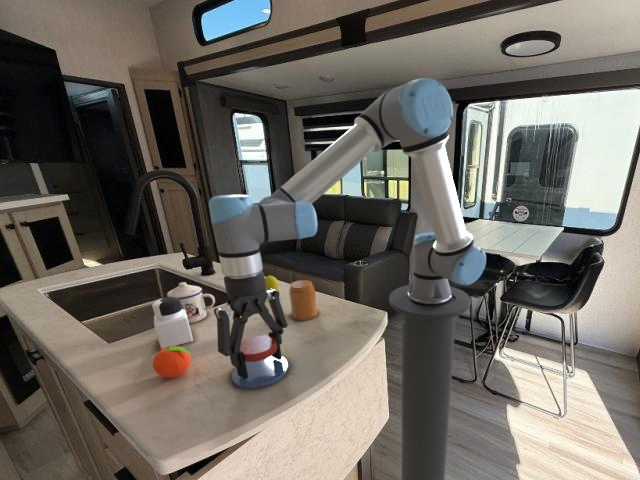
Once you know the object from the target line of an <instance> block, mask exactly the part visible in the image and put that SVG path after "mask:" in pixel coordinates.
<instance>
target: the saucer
mask: <svg viewBox="0 0 640 480" xmlns="http://www.w3.org/2000/svg"><path fill="white" fill-rule="evenodd" d="M245 363H246V368H247V373H248V378H247V379H246V380H245V379H243V378H242V377H240V376H238V372H237V368H236V367H234V369H233V370H232V375H231V379H232V382H233V384H234V385H235V386H237V387H239V388H242V389H248V390H249V389H253V390H254V389H260V388H264V387H267V386H270V385H272V384H275V383H277V382H278V381H280V380H281V379H282V378H284V377H285V375H286V374H287V373H288V371H289V361H288V360H287V358H286V357H284V356H282V359H280V360H278V359H276V358H274V357H272V355H271V356H270V357H268V358H266V359H263V360H260V361H255V362H246V361H245Z"/></svg>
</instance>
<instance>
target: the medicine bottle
mask: <svg viewBox="0 0 640 480" xmlns="http://www.w3.org/2000/svg"><path fill="white" fill-rule="evenodd" d="M151 307H152V311H153V314H154V316H153V327H154V331H155V333H156V338H157V340H158V344H159V348H160V350H162V349H164V348H166V347H169V346H180V345H184V344H187V343H191V342H193V341H194V337H193V334H192V330H191V327H190V323H189V322H188V318H187V314H186V310H185V309H182V305H181V302H180V299H179V298H176V297H167V296H166V297H162V298H159V299H157V300H155V301H153V302H152V304H151Z"/></svg>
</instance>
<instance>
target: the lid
mask: <svg viewBox="0 0 640 480" xmlns="http://www.w3.org/2000/svg"><path fill="white" fill-rule="evenodd" d="M276 350H277V343H276V340H275V338H274V337H272V336H269V335H268V334H262V335H255V336H251V337H248V338H245V339H244V340H242V341H241V346H240V351H242V352H243V353H244V358H245V361H246V362H255V361H260V360H263V359H266V358H268V357H270V356H271V355H273V354H274V353H275V352H276Z"/></svg>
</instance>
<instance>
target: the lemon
mask: <svg viewBox="0 0 640 480" xmlns="http://www.w3.org/2000/svg"><path fill="white" fill-rule="evenodd" d="M264 278H265V285H266V287H265V290H266V291H268V290H269V289H274V290H277V291H279V290H280V283H279V280H278V279H277V278H276V277H275V276H273V275H270V274H269V275H267V276H265V277H264Z"/></svg>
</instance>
